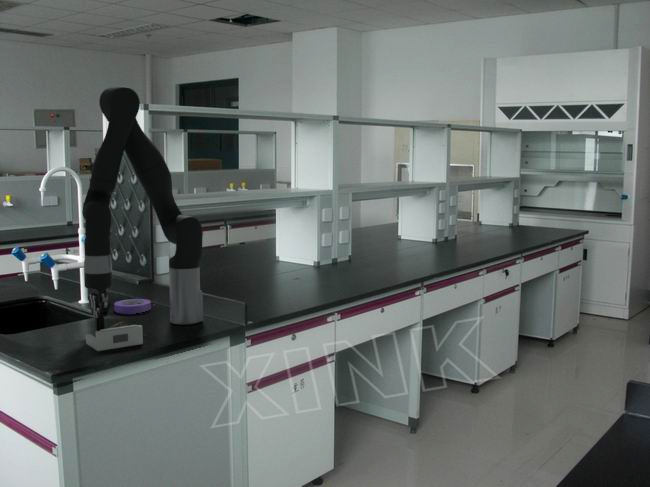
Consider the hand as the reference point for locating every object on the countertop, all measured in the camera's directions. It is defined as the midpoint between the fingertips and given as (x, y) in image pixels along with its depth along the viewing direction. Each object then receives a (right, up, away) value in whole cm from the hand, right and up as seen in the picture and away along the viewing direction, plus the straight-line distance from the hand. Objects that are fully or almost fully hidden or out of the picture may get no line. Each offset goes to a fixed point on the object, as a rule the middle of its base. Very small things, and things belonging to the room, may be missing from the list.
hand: (99, 330), depth 193 cm
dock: (+7, -3, -8) cm, 11 cm away
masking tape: (+1, +1, +31) cm, 31 cm away
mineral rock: (0, 0, -1) cm, 1 cm away
